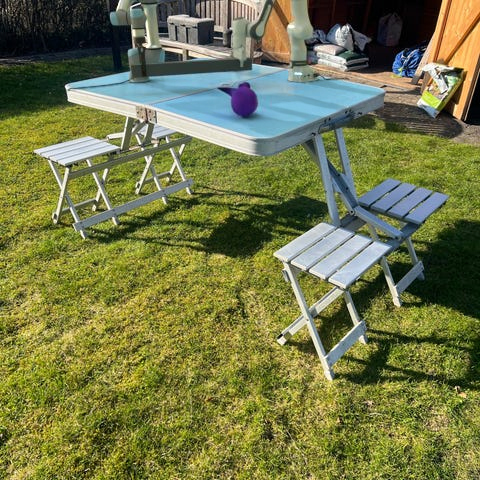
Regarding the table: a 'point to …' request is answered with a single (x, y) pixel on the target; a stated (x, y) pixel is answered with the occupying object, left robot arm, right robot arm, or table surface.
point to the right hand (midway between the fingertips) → (239, 66)
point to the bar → (191, 67)
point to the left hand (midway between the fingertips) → (143, 75)
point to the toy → (242, 99)
